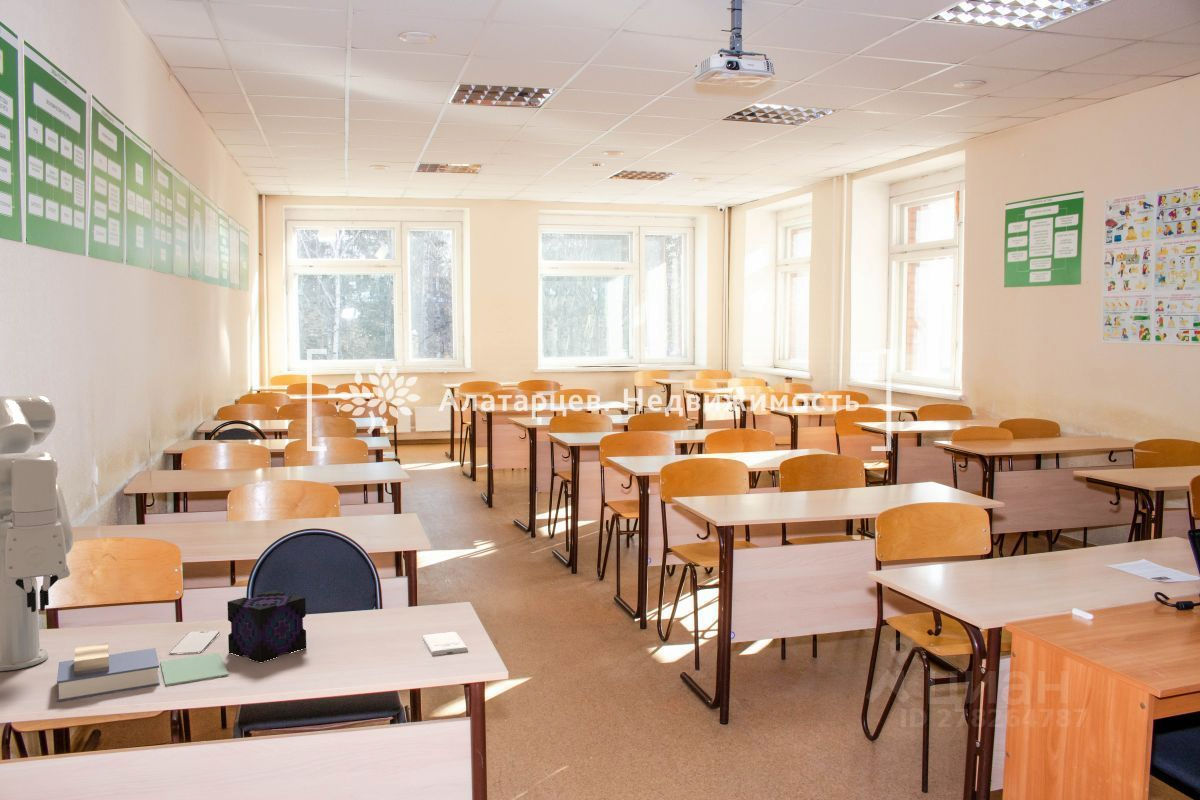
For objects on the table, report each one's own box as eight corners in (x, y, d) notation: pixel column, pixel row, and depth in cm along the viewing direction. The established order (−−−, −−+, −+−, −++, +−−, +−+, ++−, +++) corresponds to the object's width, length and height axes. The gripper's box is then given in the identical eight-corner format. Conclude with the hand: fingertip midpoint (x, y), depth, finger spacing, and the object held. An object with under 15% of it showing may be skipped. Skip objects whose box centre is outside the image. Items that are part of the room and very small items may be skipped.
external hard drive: (456, 637, 216) (467, 653, 204) (422, 641, 213) (431, 657, 202) (456, 631, 216) (467, 646, 204) (422, 635, 213) (431, 650, 201)
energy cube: (274, 639, 214) (273, 590, 213) (306, 648, 207) (305, 597, 207) (228, 653, 204) (227, 601, 203) (260, 663, 197) (259, 609, 197)
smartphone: (167, 653, 203) (189, 631, 218) (167, 658, 203) (189, 636, 218) (201, 652, 204) (220, 630, 219) (201, 657, 204) (220, 635, 219)
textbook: (59, 681, 187) (58, 662, 186) (155, 666, 195) (155, 648, 195) (57, 701, 175) (56, 681, 175) (159, 684, 184) (159, 665, 184)
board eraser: (75, 661, 187) (75, 647, 186) (108, 656, 190) (107, 642, 189) (74, 676, 178) (74, 661, 178) (109, 671, 181) (108, 656, 181)
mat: (160, 663, 197) (160, 661, 197) (219, 654, 203) (219, 652, 203) (165, 686, 183) (165, 684, 183) (228, 675, 189) (228, 673, 189)
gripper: (-14, 525, 171) (-10, 620, 172) (79, 517, 178) (82, 609, 179) (-10, 519, 177) (-7, 610, 178) (79, 512, 185) (82, 600, 186)
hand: (38, 609), depth 179 cm, fingers closed
